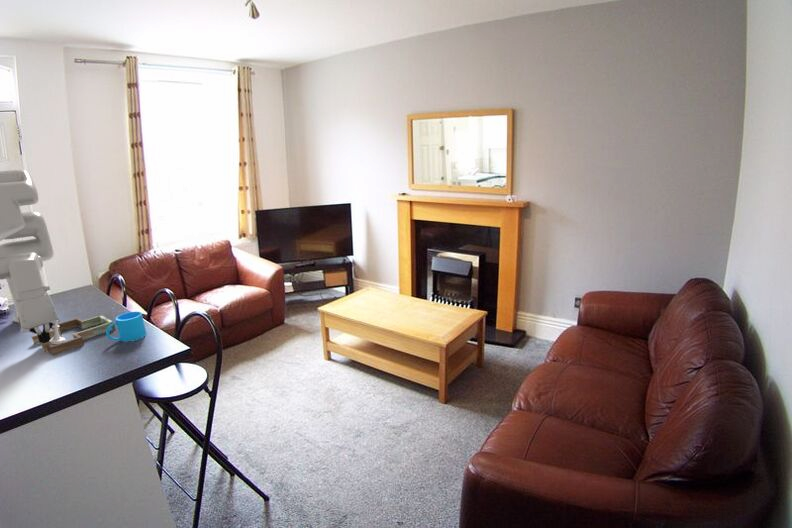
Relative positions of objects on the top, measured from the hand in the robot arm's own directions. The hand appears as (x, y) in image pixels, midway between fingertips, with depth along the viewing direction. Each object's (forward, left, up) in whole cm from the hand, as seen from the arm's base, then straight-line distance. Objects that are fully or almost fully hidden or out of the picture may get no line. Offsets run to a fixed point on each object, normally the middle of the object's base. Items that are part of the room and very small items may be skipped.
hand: (45, 343), depth 153 cm
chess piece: (0, +3, -1) cm, 3 cm away
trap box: (0, +8, -1) cm, 8 cm away
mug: (+19, +19, -2) cm, 27 cm away
